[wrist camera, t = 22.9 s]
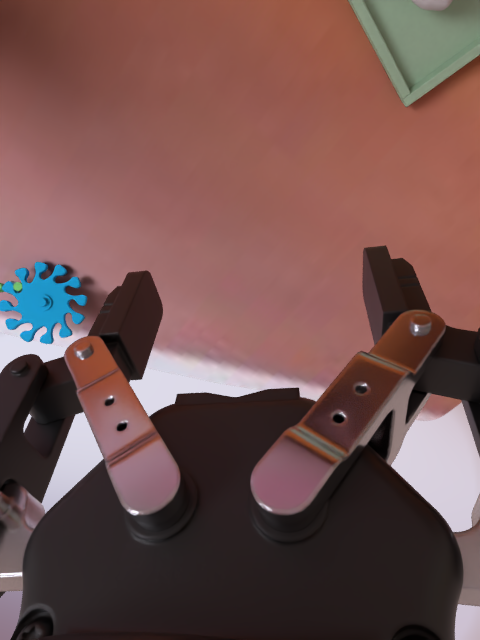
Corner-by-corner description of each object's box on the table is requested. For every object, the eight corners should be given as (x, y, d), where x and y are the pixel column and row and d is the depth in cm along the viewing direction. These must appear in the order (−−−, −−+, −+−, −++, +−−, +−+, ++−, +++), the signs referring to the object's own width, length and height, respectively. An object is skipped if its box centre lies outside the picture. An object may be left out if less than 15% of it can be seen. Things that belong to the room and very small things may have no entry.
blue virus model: (99, 283, 50) (61, 358, 49) (108, 288, 56) (74, 355, 55) (12, 242, 49) (-29, 318, 48) (30, 252, 55) (-6, 320, 54)
